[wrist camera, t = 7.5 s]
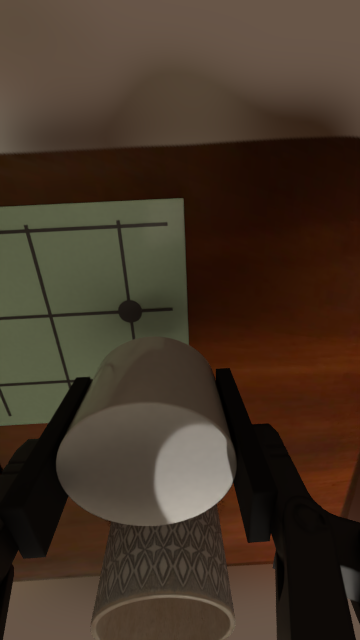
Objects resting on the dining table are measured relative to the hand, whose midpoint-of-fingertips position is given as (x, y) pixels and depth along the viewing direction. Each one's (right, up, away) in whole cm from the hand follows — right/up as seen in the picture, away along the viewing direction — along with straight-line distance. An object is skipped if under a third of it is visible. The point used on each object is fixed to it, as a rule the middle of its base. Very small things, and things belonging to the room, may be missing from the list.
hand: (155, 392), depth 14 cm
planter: (-1, -26, +25) cm, 36 cm away
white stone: (0, 0, 0) cm, 0 cm away
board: (-16, +3, +12) cm, 20 cm away
